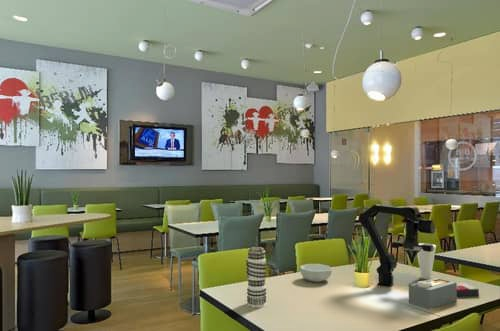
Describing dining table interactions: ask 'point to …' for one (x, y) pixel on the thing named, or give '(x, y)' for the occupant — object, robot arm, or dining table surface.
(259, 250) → the decorative candle
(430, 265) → the cup
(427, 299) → the button console
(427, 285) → the grey button
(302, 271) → the cereal bowl
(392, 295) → the dining table surface
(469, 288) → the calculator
